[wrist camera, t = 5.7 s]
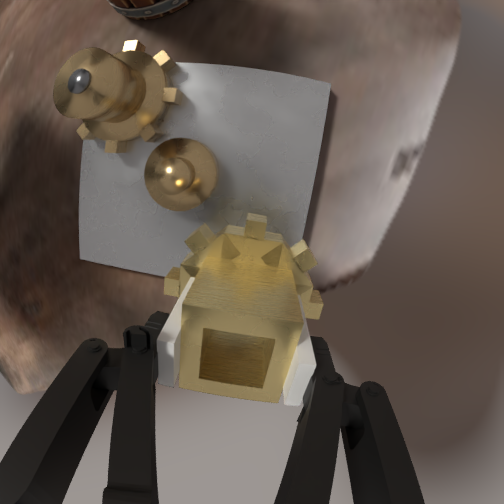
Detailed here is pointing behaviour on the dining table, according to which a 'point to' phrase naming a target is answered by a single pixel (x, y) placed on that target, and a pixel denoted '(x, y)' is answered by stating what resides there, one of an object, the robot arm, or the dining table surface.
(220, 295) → the gear
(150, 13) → the mug
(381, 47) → the dining table surface
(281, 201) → the carrier
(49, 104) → the dining table surface
